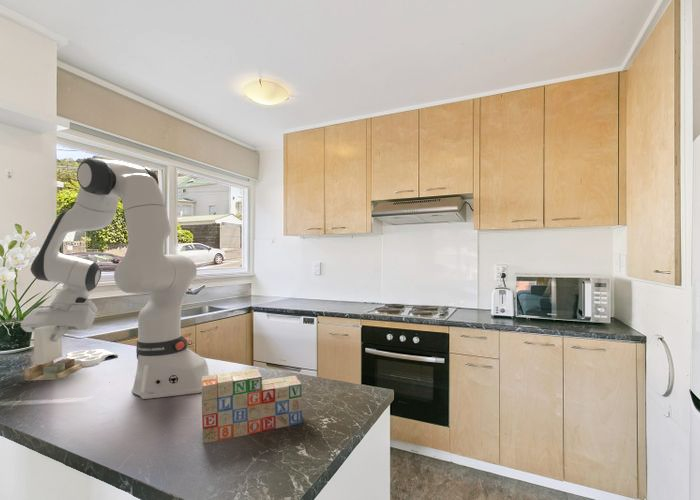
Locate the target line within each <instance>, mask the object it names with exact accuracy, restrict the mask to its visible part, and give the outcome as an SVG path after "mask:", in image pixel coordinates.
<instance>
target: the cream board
mask: <svg viewBox="0 0 700 500" xmlns="http://www.w3.org/2000/svg"><path fill="white" fill-rule="evenodd" d="M59 328H60V327H59V326H56V325H47V326H43V327H39V328H36V329H34V332H33V353H34V354H33V359H34V363H33V365H40V364H45V363H48V362H50V361H52V360H54V361H55V360H57V359H59V358H62V357H63V347H62V346H63V344H62V343H63V342H62V337H63V336H61V337H60V338H59V340H58V341H57V342H52V341H51V340H50V338H51V336H52V334H56V333H57V332H58V331H59Z"/></svg>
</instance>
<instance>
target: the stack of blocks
mask: <svg viewBox="0 0 700 500" xmlns="http://www.w3.org/2000/svg"><path fill="white" fill-rule="evenodd" d="M262 378H263V376H262V374H261V373H260V372H259V369H258V368H251V369H245V370H244V369H243V370H236V371H231V372H224V373H223V372H222V373H217V374H215V375H208V376H202V392H201V419H202V421H201V422H202V444H207V443H211V442H217V441H223V440H226V439H232V438H238V437H242V436H247V435H252V434H257V433H261V432H265V431H266V432H267V431H271V430H273V429H274V430H275V429H280V428H285V427H292V426H296V425H300V424H303V397H302V396H303V393H302V392H303V391H302V386H303V385H302V382H301V381H300V380H299V379H298V377H297V375H288V376H284V377H283V376H281V377H275V378H270V379H269V378H267V379H262Z"/></svg>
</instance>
